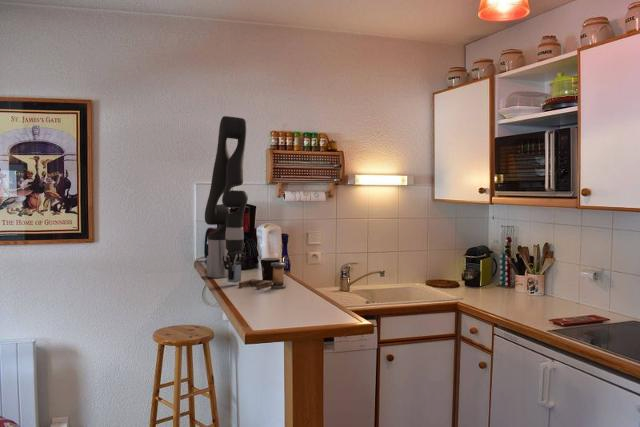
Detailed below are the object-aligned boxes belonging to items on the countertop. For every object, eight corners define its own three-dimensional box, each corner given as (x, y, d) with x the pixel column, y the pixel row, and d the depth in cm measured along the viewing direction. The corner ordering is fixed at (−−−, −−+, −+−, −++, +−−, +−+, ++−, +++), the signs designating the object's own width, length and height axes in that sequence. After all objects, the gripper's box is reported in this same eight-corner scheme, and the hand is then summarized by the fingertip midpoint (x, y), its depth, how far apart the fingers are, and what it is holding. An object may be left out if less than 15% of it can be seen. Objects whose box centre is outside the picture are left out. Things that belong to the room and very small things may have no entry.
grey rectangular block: (227, 281, 225) (227, 265, 224) (233, 280, 228) (233, 264, 228) (235, 282, 223) (235, 266, 222) (240, 281, 226) (241, 264, 226)
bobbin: (268, 288, 219) (268, 263, 218) (275, 285, 224) (275, 262, 224) (281, 289, 216) (281, 264, 216) (288, 287, 221) (288, 263, 221)
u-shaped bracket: (239, 287, 220) (239, 282, 220) (252, 283, 229) (252, 279, 229) (259, 289, 216) (260, 284, 215) (272, 285, 225) (272, 280, 225)
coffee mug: (278, 283, 231) (279, 260, 230) (258, 283, 231) (259, 260, 231) (281, 279, 242) (281, 257, 242) (262, 278, 243) (262, 256, 242)
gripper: (236, 236, 233) (236, 275, 233) (217, 238, 220) (216, 280, 221) (251, 237, 229) (251, 277, 230) (232, 240, 217) (231, 282, 217)
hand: (234, 278), depth 225 cm, fingers closed on grey rectangular block, 4 cm apart
